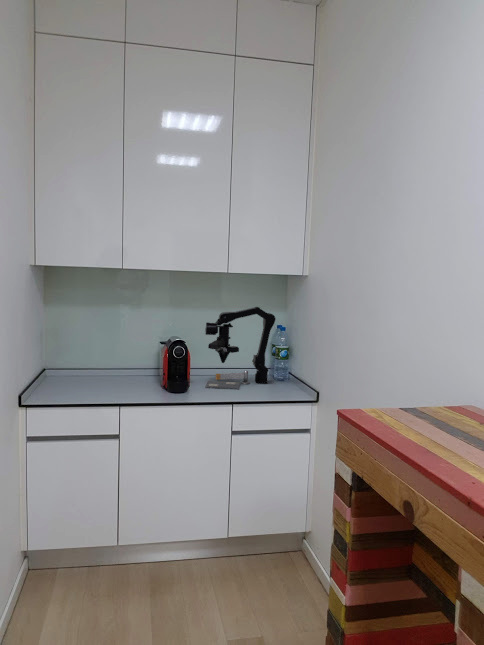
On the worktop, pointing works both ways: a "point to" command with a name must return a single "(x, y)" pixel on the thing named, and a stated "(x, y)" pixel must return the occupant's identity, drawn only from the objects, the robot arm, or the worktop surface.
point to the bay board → (222, 385)
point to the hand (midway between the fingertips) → (222, 362)
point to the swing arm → (233, 376)
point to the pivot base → (245, 383)
